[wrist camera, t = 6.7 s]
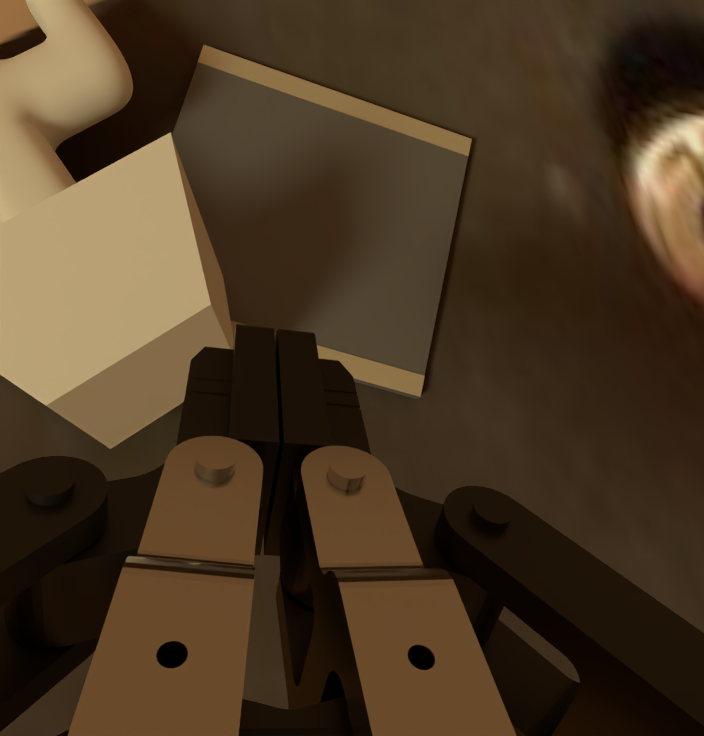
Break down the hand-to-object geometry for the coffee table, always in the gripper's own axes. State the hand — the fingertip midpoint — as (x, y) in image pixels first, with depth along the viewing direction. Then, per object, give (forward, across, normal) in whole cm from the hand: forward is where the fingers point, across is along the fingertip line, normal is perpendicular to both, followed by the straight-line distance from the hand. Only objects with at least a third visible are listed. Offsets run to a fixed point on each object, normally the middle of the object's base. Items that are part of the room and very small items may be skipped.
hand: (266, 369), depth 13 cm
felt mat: (+13, -2, +1) cm, 13 cm away
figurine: (+4, +2, +3) cm, 6 cm away
